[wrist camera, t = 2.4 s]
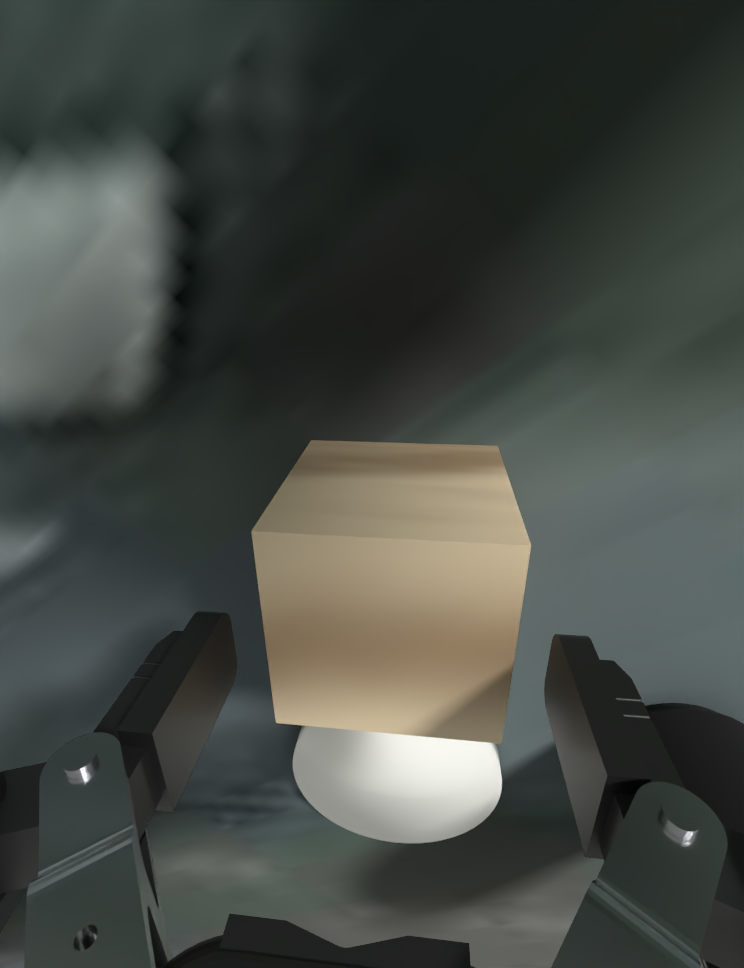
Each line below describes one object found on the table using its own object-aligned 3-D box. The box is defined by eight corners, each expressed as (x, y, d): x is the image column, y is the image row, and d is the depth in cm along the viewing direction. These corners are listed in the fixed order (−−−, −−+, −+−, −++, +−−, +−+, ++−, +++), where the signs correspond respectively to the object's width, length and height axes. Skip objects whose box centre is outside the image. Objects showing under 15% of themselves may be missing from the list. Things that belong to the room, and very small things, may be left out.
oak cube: (311, 439, 16) (251, 531, 11) (497, 444, 16) (530, 545, 10) (320, 588, 19) (275, 723, 13) (481, 598, 18) (501, 744, 13)
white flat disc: (290, 675, 21) (284, 694, 20) (509, 693, 20) (513, 714, 19) (304, 810, 25) (299, 831, 24) (489, 830, 24) (491, 853, 23)
